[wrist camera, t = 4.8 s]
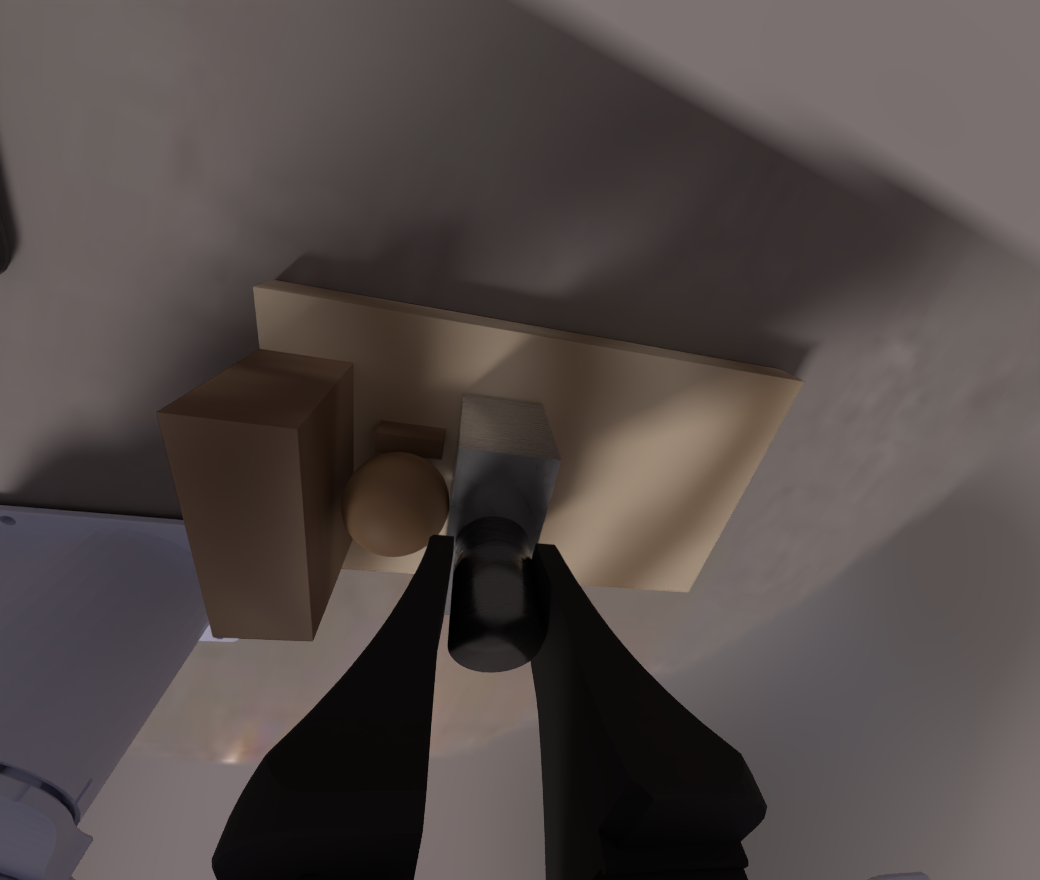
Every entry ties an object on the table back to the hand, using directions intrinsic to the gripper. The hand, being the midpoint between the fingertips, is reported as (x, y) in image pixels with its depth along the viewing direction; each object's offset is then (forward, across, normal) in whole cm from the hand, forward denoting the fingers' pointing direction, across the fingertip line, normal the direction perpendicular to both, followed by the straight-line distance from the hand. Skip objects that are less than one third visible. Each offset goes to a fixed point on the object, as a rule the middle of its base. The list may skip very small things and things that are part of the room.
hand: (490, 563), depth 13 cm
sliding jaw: (+5, 0, 0) cm, 5 cm away
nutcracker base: (+6, -2, 0) cm, 7 cm away
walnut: (+2, +3, 0) cm, 4 cm away
